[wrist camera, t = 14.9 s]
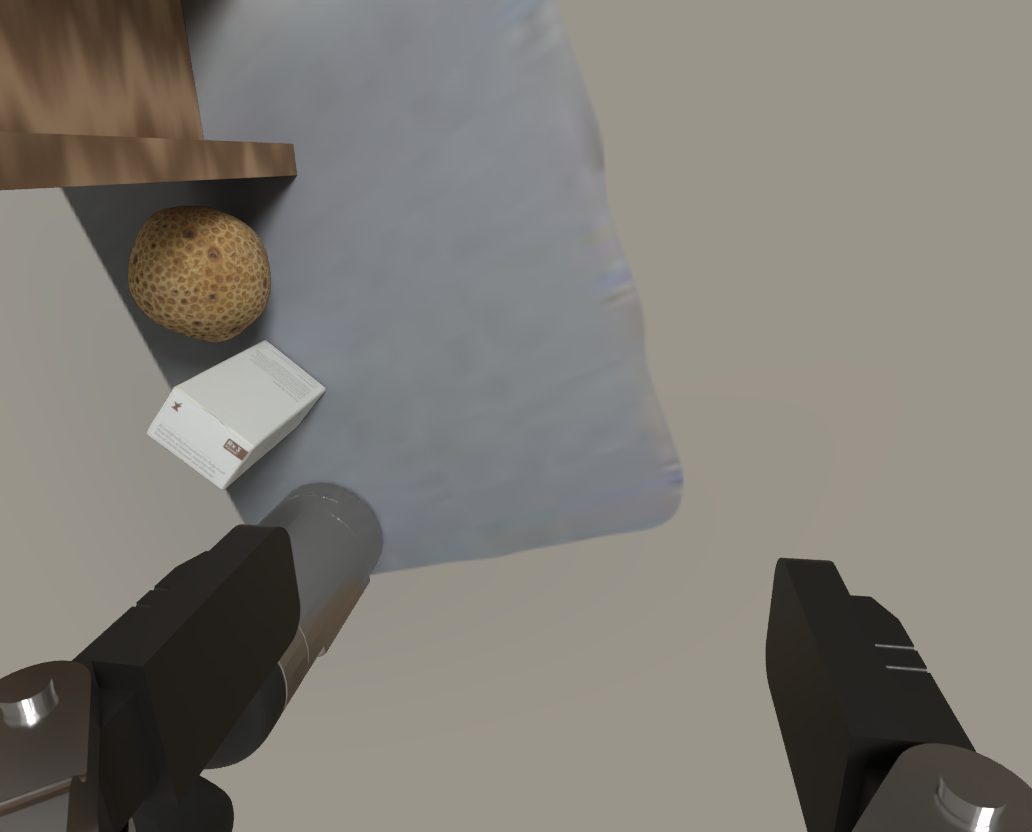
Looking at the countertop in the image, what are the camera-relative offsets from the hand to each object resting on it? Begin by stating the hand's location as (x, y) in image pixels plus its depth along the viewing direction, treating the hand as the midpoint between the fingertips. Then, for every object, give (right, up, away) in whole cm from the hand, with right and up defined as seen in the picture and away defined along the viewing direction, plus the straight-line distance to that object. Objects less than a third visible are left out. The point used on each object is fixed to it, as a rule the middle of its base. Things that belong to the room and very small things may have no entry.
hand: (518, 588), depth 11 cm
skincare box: (-18, +6, +42) cm, 46 cm away
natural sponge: (-20, +14, +39) cm, 46 cm away
